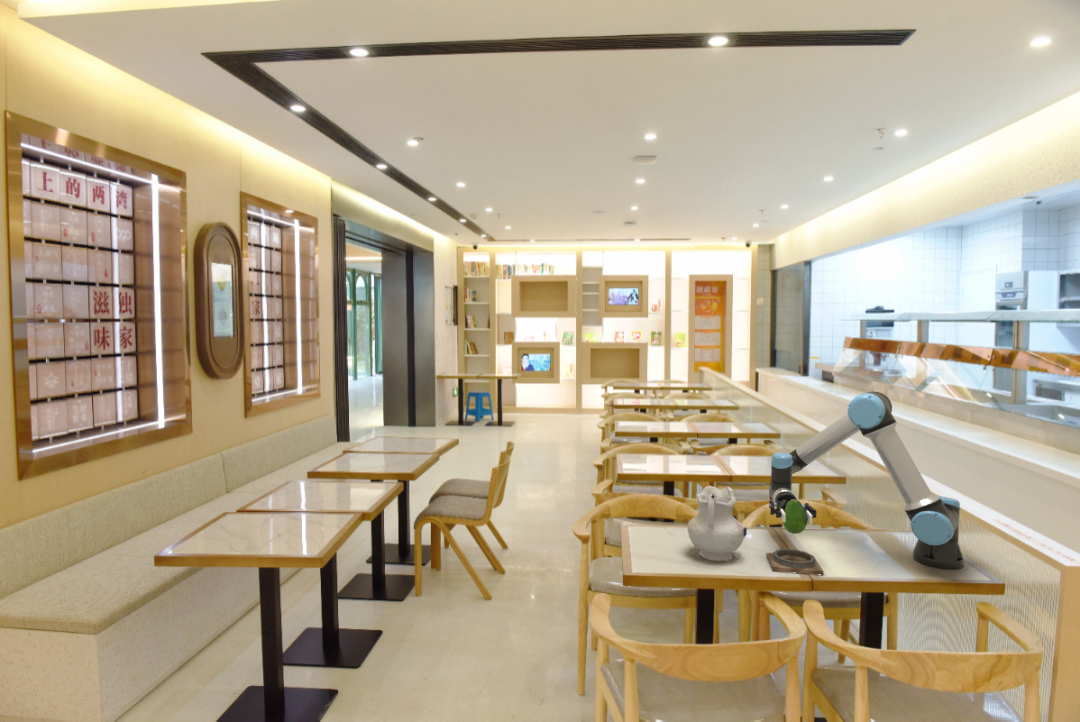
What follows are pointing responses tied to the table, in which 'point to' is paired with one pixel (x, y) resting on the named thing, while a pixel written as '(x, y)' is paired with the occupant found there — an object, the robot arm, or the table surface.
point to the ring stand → (793, 562)
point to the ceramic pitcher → (716, 525)
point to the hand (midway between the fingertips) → (797, 519)
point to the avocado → (795, 517)
